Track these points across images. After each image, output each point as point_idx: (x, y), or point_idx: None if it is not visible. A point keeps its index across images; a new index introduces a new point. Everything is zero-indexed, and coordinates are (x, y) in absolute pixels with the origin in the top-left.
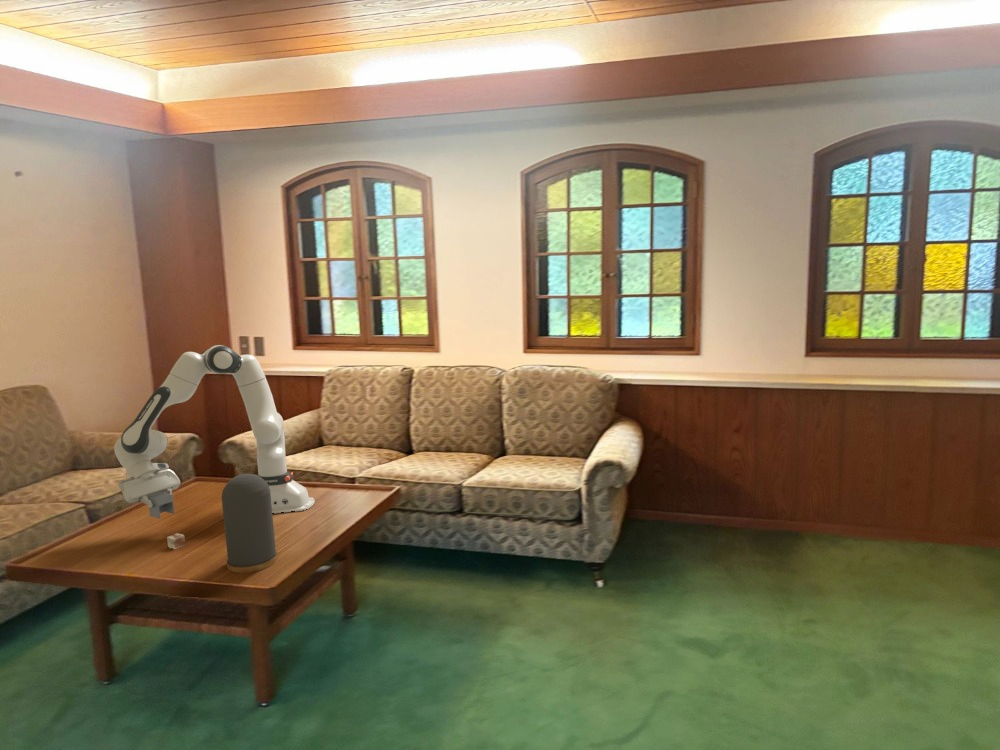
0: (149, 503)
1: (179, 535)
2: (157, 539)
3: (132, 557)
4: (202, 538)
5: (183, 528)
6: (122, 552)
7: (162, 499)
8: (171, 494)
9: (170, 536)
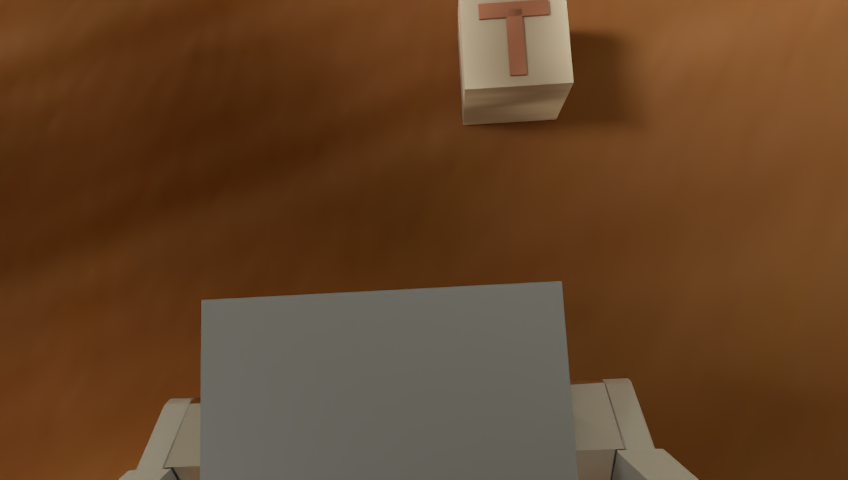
0: (644, 437)
1: (491, 9)
2: None
3: (831, 183)
4: (298, 54)
5: None
6: (832, 373)
7: (445, 287)
8: (133, 474)
9: (546, 69)
